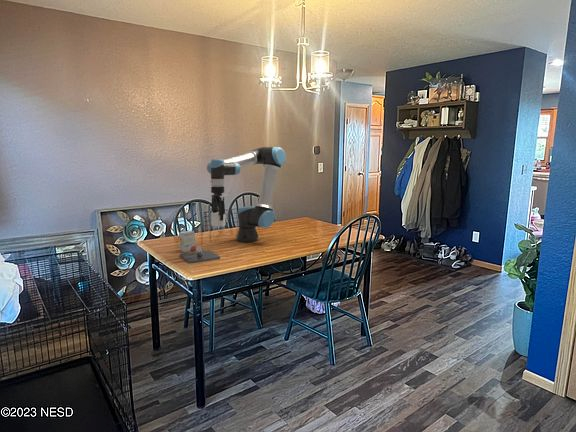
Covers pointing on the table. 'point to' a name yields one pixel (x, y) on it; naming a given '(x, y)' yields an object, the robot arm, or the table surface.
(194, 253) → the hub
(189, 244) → the ink box
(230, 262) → the table surface
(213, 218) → the light grey boxy piece
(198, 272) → the table surface
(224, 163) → the robot arm
